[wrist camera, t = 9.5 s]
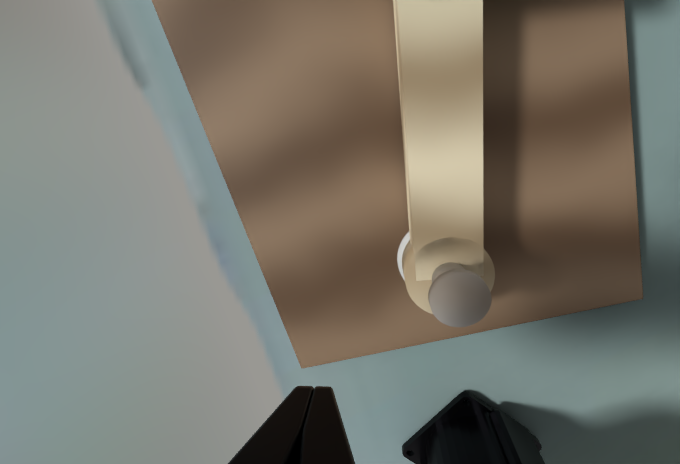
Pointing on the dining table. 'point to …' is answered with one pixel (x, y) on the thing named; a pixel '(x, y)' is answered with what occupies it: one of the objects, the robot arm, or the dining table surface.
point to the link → (444, 157)
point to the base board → (389, 168)
